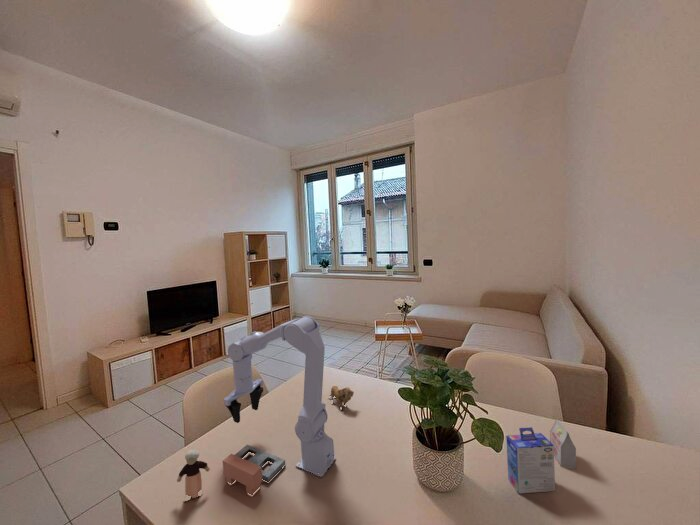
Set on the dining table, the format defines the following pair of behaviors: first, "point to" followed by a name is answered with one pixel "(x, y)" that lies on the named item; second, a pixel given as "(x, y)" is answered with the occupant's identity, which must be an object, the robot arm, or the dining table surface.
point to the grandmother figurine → (192, 473)
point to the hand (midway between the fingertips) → (246, 415)
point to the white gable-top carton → (563, 446)
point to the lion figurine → (341, 394)
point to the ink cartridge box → (530, 462)
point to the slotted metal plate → (263, 461)
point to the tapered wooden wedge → (242, 472)
